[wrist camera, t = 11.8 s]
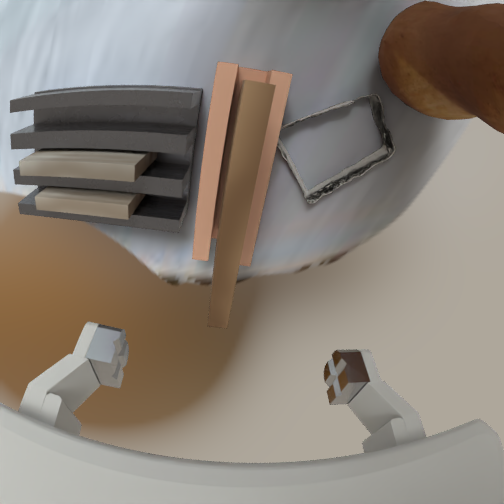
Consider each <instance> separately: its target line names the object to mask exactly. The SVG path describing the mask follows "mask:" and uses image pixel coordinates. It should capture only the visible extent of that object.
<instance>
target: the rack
mask: <svg viewBox="0 0 504 504" xmlns="http://www.w3.org/2000/svg"><path fill="white" fill-rule="evenodd" d="M201 95H202V89H200V88H189V87H176V86H156V85H105V86H86V87H73V88H63V89H54V90H46V91H40V92H35V94H33V95H29V96H25V97H21V98H17V99H14V100H10V113H12V112H19V111H26V110H34V124H33V125H31V126H28V127H26V128H24V129H21V130H19V131H16V132H14V133H12V134H11V149H31V148H35V152H36V151H38V150H40V149H42V148H95V149H119V150H136V151H150V152H157V158H156V159H155V160H154V161H153V162H152V163H151V164H150V165H149V167H148V168H147V169H146V170H145V171H144V172H143V173H142V174H141V175H140V176H139V177H138V179H137V180H136V181H135V182H128V181H116V180H103V179H88V178H71V177H51V176H20V167H17V168H15V169H14V170H13V171H14V180H15V184H22V185H38V188H37V189H35V190H34V191H33V192H31V193H30V194H29V195H28V196H26V197H25V198H24V199H23V200H22V201H20V202H19V203H18V206H19V211H20V214H27V215H35V216H44V217H53V218H62V219H70V220H79V221H87V222H96V223H104V224H112V225H120V226H129V227H137V228H145V229H153V230H161V231H169V232H177V233H179V231H180V228H181V225H182V222H183V219H184V216H185V214H186V212H187V209H188V200H189V190H190V180H191V170H192V161H193V153H194V144H195V137H196V129H197V122H198V115H199V108H200V101H201ZM48 186H59V187H74V188H88V189H100V190H112V191H123V192H133V193H143V194H146V195H145V196H144V198H143V199H142V201H141V202H140V203H139V205H138V206H137V208H136V209H135V211H134V212H133V214H132V215H131V217H130V218H129V220H126V219H118V218H109V217H100V216H92V215H82V214H73V213H64V212H55V211H45V210H37V208H36V202H35V196H36V195H38V194H39V193H40V192H41V191H43V190H44V189H45V188H46V187H48Z"/></svg>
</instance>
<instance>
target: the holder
mask: <svg viewBox="0 0 504 504" xmlns="http://www.w3.org/2000/svg"><path fill="white" fill-rule="evenodd" d="M291 79H292V74H289V73H284V72H280V71H275V70H271V71H268V72H267V71H261V70H255V69H249V68H243V67H239V65H238V64H233V63H226V62H218V64H217V69H216V74H215V80H214V86H213V92H212V98H211V104H210V110H209V117H208V123H207V130H206V137H205V144H204V152H203V159H202V167H201V175H200V184H199V193H198V202H197V212H196V222H195V233H194V244H193V257H192V259H196V260H203V261H208V258H209V252H210V245H211V238H215V239H217V234H218V226H219V219H220V212H221V206H222V199H223V192H224V186H225V179H226V173H227V167H228V160H229V154H230V148H231V142H232V137H233V131H234V125H235V119H236V114H237V108H238V103H239V97H240V92H241V87H242V82H243V80H251V81H257V82H262V83H268V84H273V85H276V87H275V92H274V96H273V101H272V106H271V111H270V116H269V120H268V125H267V130H266V135H265V140H264V145H263V149H262V154H261V159H260V164H259V169H258V174H257V179H256V184H255V189H254V194H253V199H252V204H251V209H250V214H249V219H248V224H247V229H246V234H245V239H244V244H243V249H242V254H241V260H240V265H243V266H250V265H251V260H252V256H253V251H254V247H255V242H256V238H257V233H258V229H259V224H260V220H261V215H262V211H263V206H264V202H265V197H266V192H267V188H268V183H269V179H270V174H271V170H272V165H273V161H274V156H275V152H276V147H277V142H278V138H279V133H280V129H281V124H282V120H283V115H284V110H285V106H286V101H287V97H288V92H289V88H290V83H291Z"/></svg>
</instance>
